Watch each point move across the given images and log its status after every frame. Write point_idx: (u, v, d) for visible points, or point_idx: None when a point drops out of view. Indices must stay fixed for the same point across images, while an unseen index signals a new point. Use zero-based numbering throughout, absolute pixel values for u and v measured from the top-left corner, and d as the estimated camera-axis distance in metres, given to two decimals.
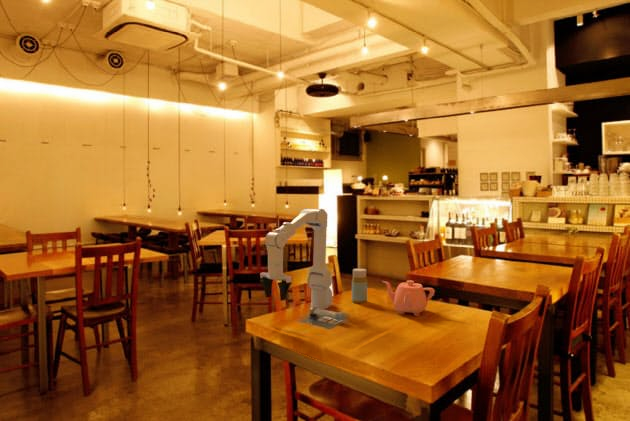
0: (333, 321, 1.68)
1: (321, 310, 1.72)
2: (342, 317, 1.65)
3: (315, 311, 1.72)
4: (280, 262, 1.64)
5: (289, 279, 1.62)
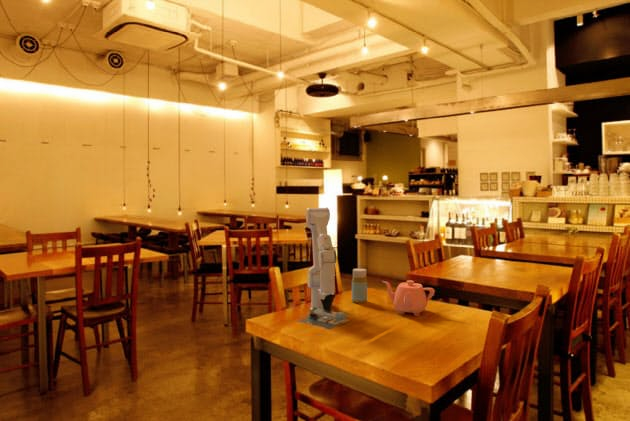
0: (333, 321, 1.68)
1: (321, 310, 1.72)
2: (342, 317, 1.65)
3: (315, 311, 1.72)
4: None
5: (321, 296, 1.66)
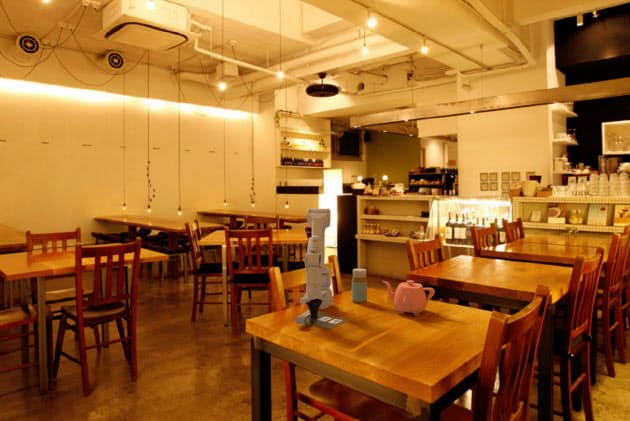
0: (333, 321, 1.68)
1: (308, 311, 1.70)
2: (299, 321, 1.61)
3: None
4: (321, 281, 1.65)
5: (301, 300, 1.60)
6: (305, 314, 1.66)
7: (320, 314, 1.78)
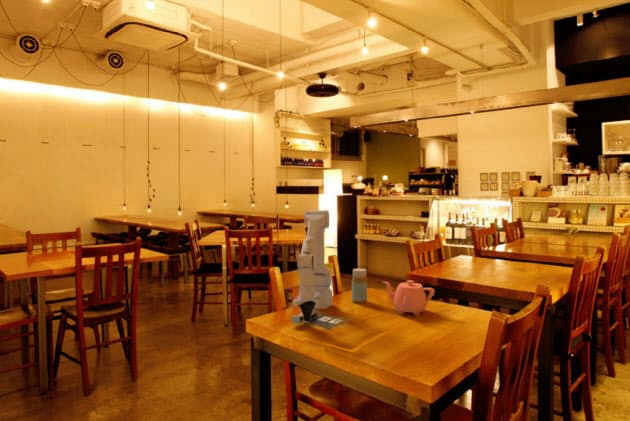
0: (333, 321, 1.68)
1: None
2: (294, 320, 1.62)
3: None
4: (314, 283, 1.62)
5: (294, 303, 1.57)
6: None
7: (320, 314, 1.78)
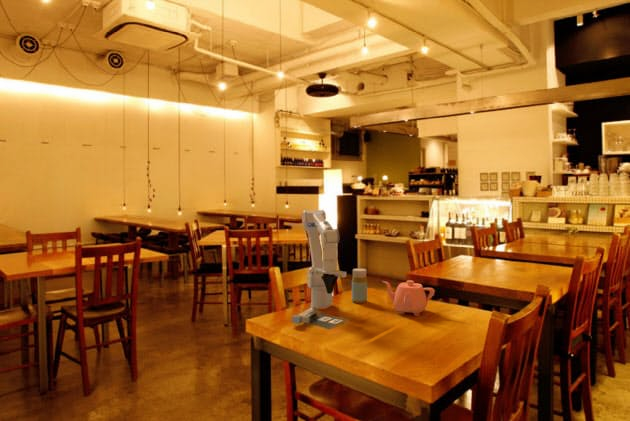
0: (333, 321, 1.68)
1: (307, 311, 1.71)
2: (294, 320, 1.62)
3: None
4: None
5: (344, 274, 1.69)
6: (302, 314, 1.67)
7: (320, 314, 1.78)
